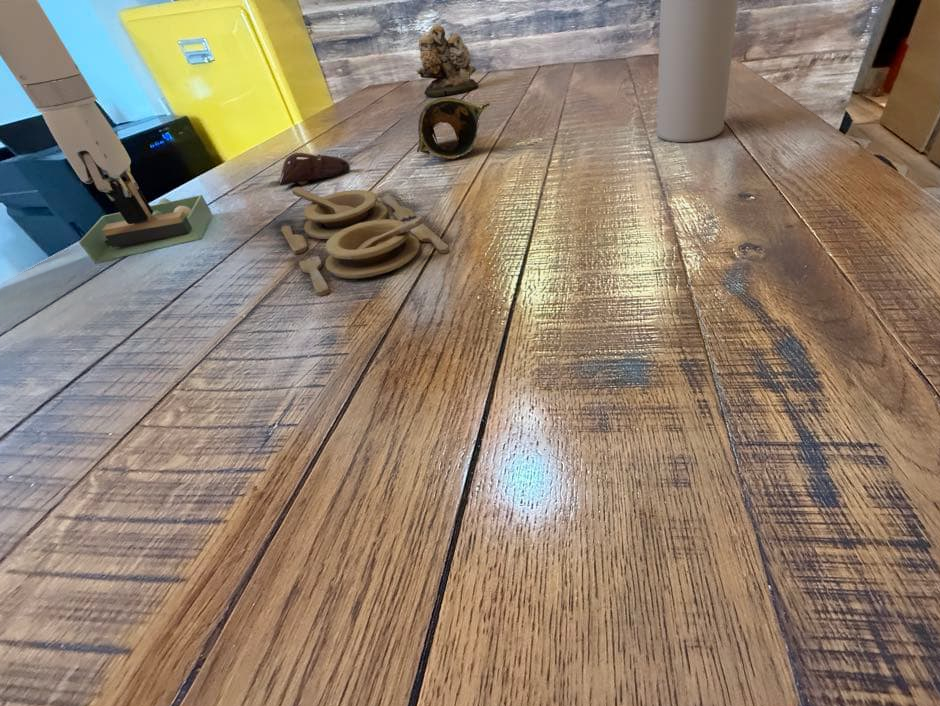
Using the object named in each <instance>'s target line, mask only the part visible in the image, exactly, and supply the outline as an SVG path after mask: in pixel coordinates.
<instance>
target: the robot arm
mask: <svg viewBox="0 0 940 706" xmlns="http://www.w3.org/2000/svg"><path fill="white" fill-rule="evenodd" d="M0 57H1V59H2V60H3V62H4V63H5V65H6V66H7V68H8V69H9V71H10V72H11V73H12V75H13V77H14V78H15V79H16V81H17V82H18V84H19V85H20V87H21V88H22V90H23V91H24V93H25V94H26V96H27V97H28V99H29V100H30V102H31V103H32V105H34V107H35V109H36V110H37V113H41V115H42V118H43V119H44V121H45V124H46V125H47V127H48V129H49V131H50V133H51V135H52V137H53V138H54V140H55V142H56V143H57V145H58V147H59V148H60V149H61V151H62V154H63V155H64V156H65V157H66V160H67V162H68V163H69V164H70V166H71V167H72V169H73V170H74V172H75V173H76V175H77V176H78V178H79V179H80V181H81V182H82V183H84V184H87V185H91V184H93V183H94V185H95V187H96V189H97V190H98V191H99V192H102V193H105V194H106V196H107V197H108V198H109V200H110V201H111V202H112V203H113V204H114V206H115V207H116V208H117V211H118V213H119V212H120V213H121V215H122V216H123V218H124V219H125V221H126V222H127V223H128V224H133V223H138V222H143V221H147V220H148V216H147V214H146V213H145V211H144V210H143V208H142V207H141V205H140V203H139V202H138V200H137V199H136V197H135V195H132V196H131V194H130V192H129V190H128V189H127V187H126V185H125V184H124V181H131V180H132V182H133V184H134V185H135V187H136V189H137V191H138V192H139V194H140V196H141V198H142V199H143V201H144V203H145V205H146V206H147V208H148V210H149V212H150V213H151V214H152V213H153V210H152V209H151V207H150V206H151V205H150V203H149V202H148V201H147V198H146V197H145V195H144V194H143V192H142V191H141V189H140V188H139V187H140V186H139V185H138V183H137V181H136V180H135V179H134V176H133V175H132V172H131V163H132V160H131V158H130V156H129V154H128V151H127V150H126V148H125V147H124V144H123V143H122V141H121V140H120V138H119V137H118V135H117V134H116V132H115V130H114V129H113V127H112V126H111V124H110V123H109V121H108V120H107V119H106V117H105V116H104V114H103V113H102V111H101V110H100V109H99V107H98V106H97V104H96V101H97V100H98V98H97V97H96V95H95V93H94V92H93V90H92V88H91V87H90V85H89V83H88V82H87V80H86V79H85V77H84V75H83V74H82V71H81V70H80V68H79V66H78V65H77V63H76V62H75V60H74V59H73V57H72V56H71V54H70V52H69V51H68V49H67V47H66V45H65V44H64V42H63V41H62V39H61V37H60V35H59V34H58V32H57V31H56V29H55V27H54V26H53V24H52V22H51V21H50V19H49V17H48V15H47V14H46V12H45V11H44V9H43V7H42V6H41V4H40V2H39V1H38V0H0ZM106 175H107V176H108V177H106ZM115 183H117V184H118V186H117V185H116V184H115Z"/></svg>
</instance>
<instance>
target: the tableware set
mask: <svg viewBox="0 0 940 706" xmlns="http://www.w3.org/2000/svg"><path fill="white" fill-rule="evenodd" d="M291 191H292V194H293V195H294V196H296V197H298V198H301V199H303V200H306V201H308V202H310V204H308V205H307V206H306V207H305V208H304V210H303V216H304V218H306V219H307V221H306V222H305V224H304V232H305V233H306V235H308V237H310V238H313V239H319V240H327V241H326V243H325V246H324V247H325V251H326V252H327V254H328V255H329V256H328V257H327V258H326V260H325V268H326V270H327V271H328V273H330V274H331V275H333V276H335V277H337V278H342V279H348V280H352V279H353V280H355V279H356V280H357V279H364V278H371V277H375V276H379V275H383V274H386V273H389V272H391V271H394V270H396V269H398V268H401V267H403V266H405V264H407V263H408V262H410V261H411V260H412V259H414V257H416V255H417V254H418V253H419V250H420V246H421V245H420V242H422V243H431V244H432V246H433V247H434V248H435V250H436V251H437V252H438V253H439V254H443V255H444V254H447V253H449V252H450V246H449V245H448V244H447V243H446V242H445V241H443V239H442V238H440V237H439V236H438V235H437V234H436V233H435V232H434V231H432V229H430V228H429V227H428V226H427V225H426V224H425V221H426V218H425V217H424V216H423V215H420V216H417V215H416V213H414V212H413V210H411V208H406V207H402V206H401V205H400V204H399V202H398V201H397V200H396V199H395V198H394V197H393V195H384V196H383V197H381V200H382V203H380V202H377V200H378V197H377V195H376V193H374V192H373V191H371V190H367V189H351V190H343V191H338V192H334V193H331V194H327V195H325V196H323V197H321V196H320V195H317V194H315V193H313V192H311V191H310V190H307V189H305V188H302V187H300V186H294V187H293V188H291ZM387 207H389V208H390V209H391V210H393V217H394V218H395V219H387V216H388V213H389V211H388V208H387ZM410 219H411V220H410ZM408 220H409V221H408ZM404 221H407V222H404ZM280 230H281V232H282V234H283V237H284V238H285V240H286V242H287V243H288V245H289V247H290V249H291V250H292V252H293V254H294V256H295V255H299V254H302V253H304V252H306V251H307V250H308V243H307V241H306V239H305V237H304V235H302V234H299V233H298V234H294V232H293V229H292V227H291V226H290V225H283V226H281V228H280ZM298 264H299V267H300V269H301V271H302V272H303V273H305V274H309V275H310V279H311V283H312V285H313V288H314V291H315V294H316V295H317V296H318V297H322V296H326V295H328V294H329V293H330V291H331V290H330V288H329V286H328V283H327V282H326V280H325V278H324V277H323V275H322V274H321V272H320V270H321V269H322V267H323V263H322V260H321V258H320V256H319V255H316V256H313V257H312V258H309V257H308V258H306V260H303V259H302V260H299V261H298Z"/></svg>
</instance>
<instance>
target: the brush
mask: <svg viewBox="0 0 940 706" xmlns="http://www.w3.org/2000/svg"><path fill="white" fill-rule="evenodd" d="M115 184H116V185H117V186H118V184H117V183H115ZM124 184H125V185H126V187H127V189H128V190H129V192H130V194H131V196H132V195H135V197H136V199H137V200H138V202H139V203H140V205H141V207H142V208H143V210H144V211H145V213H146V214H147V216H148V220H147V221H143V222H138V223H133V224H128V223H127V222H126V221H121V222H115V223H109V224H106V225H105V227H104V228H103V229H102V230H101V231H102V232H103V234H104V235H105V237H106V241H107V240H108V241H109V243H110V244H111V246H112V247H117V246H123V245H128V244H134V243H140V242H145V241H151V240H156V239H162V238H167V237H173V236H179V235H184V234H189V232H190V230H191V228H192V227H191V225H190V223H189V221H188V219H187V217H186V216H185V214H184V212H183V211H179V212H174V213H168V214H162V215H156V216H152V215H151V213H150V212H149V210H148V208H147V206H146V205H145V203H144V201H143V199H142V198H141V196H140V194H139V192H138V191H137V190H138V189H136V187H135V185H134V184H133V182H132V180H131V181H124Z"/></svg>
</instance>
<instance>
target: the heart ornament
mask: <svg viewBox="0 0 940 706" xmlns="http://www.w3.org/2000/svg"><path fill="white" fill-rule="evenodd" d="M350 169H351V166H350V164H349V163H348V161H347V160H345V159H343V158H341V157H338V156H332V155H326V154H317V155H316V154H312V153H307V152H299V151H298V152H293V153H291V154H290V155H288V156H287V157H286V158H285V159H284V161H283V164H282V168H281V173H280V178H279V186H281V187H282V186H283V187H285V186H288V185H291V184H295V183H297V184H299V185H301V186H303V185H306V184H307V183H309V181H312V180H313V181H316V180H318V179H319V180H320V179H325V178H329V177H330V178H331V177H335V176H339V175H342V174H345V173H347V172H349V171H350Z"/></svg>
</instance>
